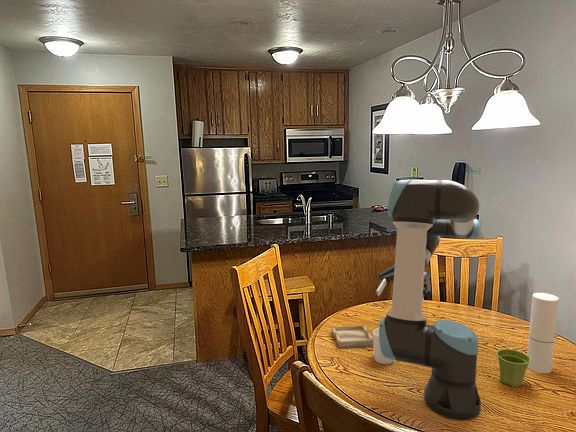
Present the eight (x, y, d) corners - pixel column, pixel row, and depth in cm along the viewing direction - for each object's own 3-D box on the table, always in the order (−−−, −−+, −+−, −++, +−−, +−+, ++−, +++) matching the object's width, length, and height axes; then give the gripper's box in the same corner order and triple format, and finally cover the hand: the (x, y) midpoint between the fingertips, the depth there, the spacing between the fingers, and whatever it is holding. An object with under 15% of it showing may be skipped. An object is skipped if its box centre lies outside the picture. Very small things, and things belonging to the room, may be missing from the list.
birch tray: (374, 346, 148) (374, 340, 148) (339, 348, 147) (339, 342, 147) (363, 330, 161) (363, 325, 161) (331, 332, 160) (331, 326, 160)
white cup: (396, 366, 135) (397, 338, 133) (372, 364, 136) (373, 337, 135) (394, 354, 142) (395, 328, 141) (372, 352, 144) (372, 327, 142)
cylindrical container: (553, 367, 133) (560, 296, 129) (548, 376, 127) (556, 302, 123) (529, 360, 137) (535, 291, 133) (523, 368, 132) (530, 297, 128)
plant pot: (488, 373, 130) (490, 348, 128) (518, 373, 130) (520, 348, 128) (503, 390, 121) (505, 363, 119) (534, 390, 120) (537, 363, 119)
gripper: (450, 276, 150) (429, 318, 138) (388, 258, 165) (365, 294, 153) (450, 262, 146) (429, 304, 134) (387, 245, 160) (362, 281, 148)
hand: (395, 299), depth 143 cm, fingers open, 13 cm apart
